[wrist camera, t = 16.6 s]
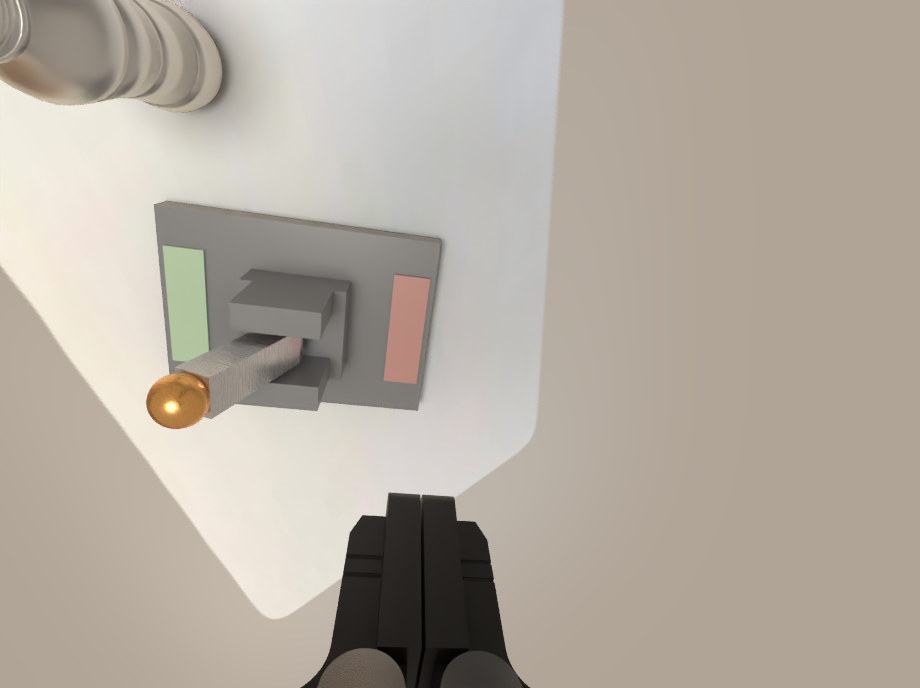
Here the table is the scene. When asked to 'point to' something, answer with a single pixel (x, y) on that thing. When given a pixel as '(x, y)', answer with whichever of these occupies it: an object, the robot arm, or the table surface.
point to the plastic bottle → (108, 52)
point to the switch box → (301, 301)
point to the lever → (221, 378)
